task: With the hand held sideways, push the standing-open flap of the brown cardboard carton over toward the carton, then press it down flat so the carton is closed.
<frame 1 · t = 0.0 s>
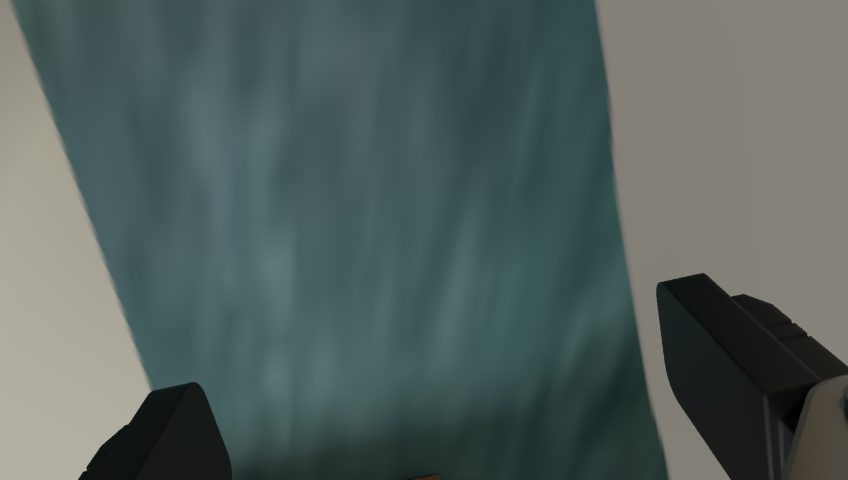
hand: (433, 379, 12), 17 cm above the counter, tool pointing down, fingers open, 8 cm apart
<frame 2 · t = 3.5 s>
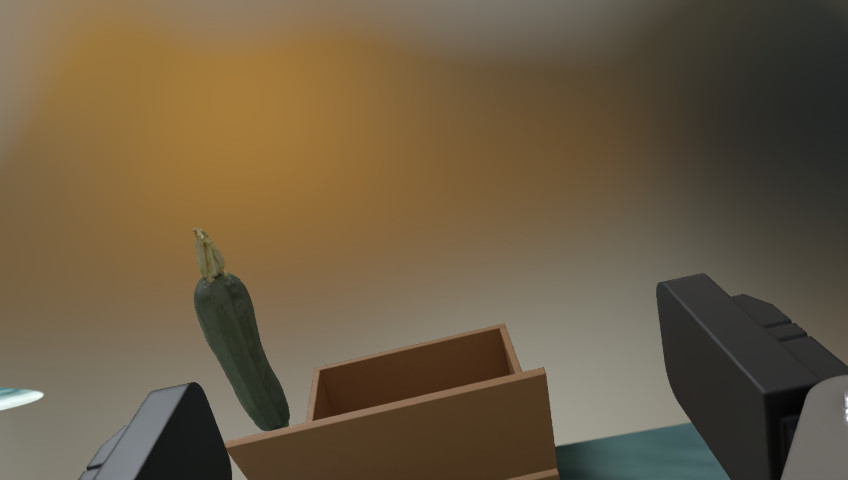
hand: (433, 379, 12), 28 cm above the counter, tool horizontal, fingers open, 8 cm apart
vegetable: (274, 440, 60), on the counter
flap: (403, 455, 34), point 13 cm above the counter, hinge at 110.0°
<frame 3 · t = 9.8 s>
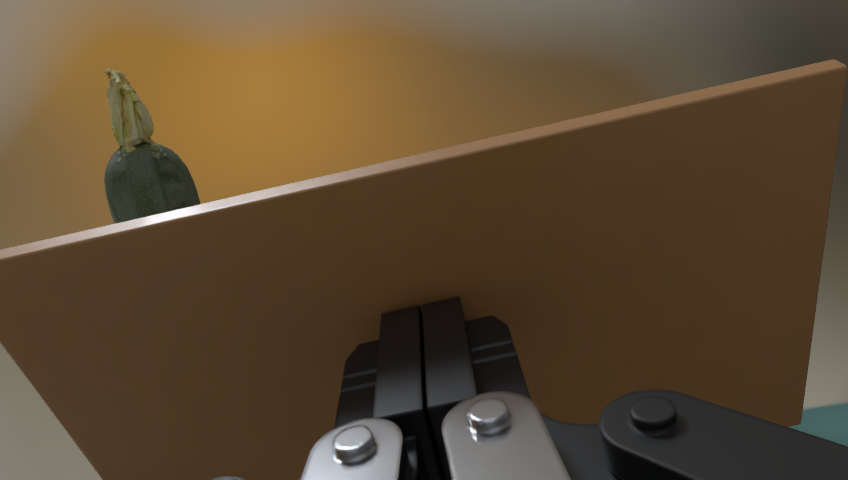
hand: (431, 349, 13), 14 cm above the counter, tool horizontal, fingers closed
vegetable: (234, 417, 40), on the counter
flap: (433, 352, 13), point 13 cm above the counter, hinge at 104.3°, touching gripper
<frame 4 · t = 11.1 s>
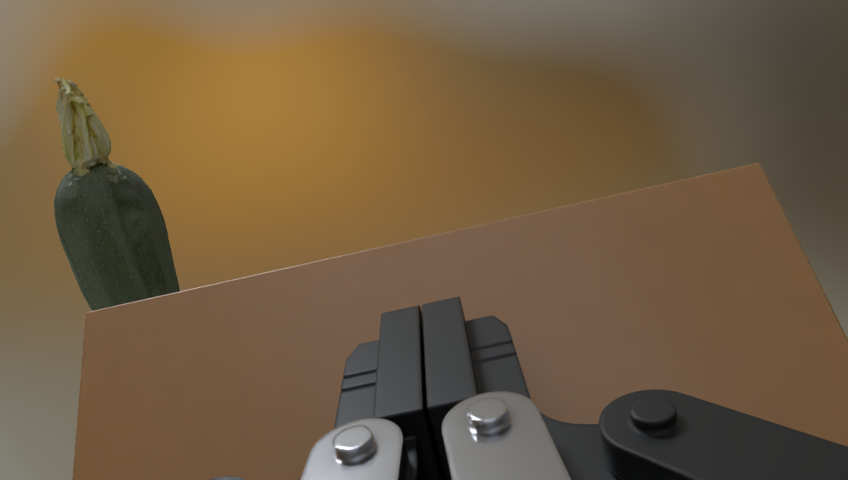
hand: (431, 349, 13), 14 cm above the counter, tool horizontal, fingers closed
vegetable: (210, 474, 35), on the counter
flap: (450, 433, 13), point 12 cm above the counter, hinge at 42.0°
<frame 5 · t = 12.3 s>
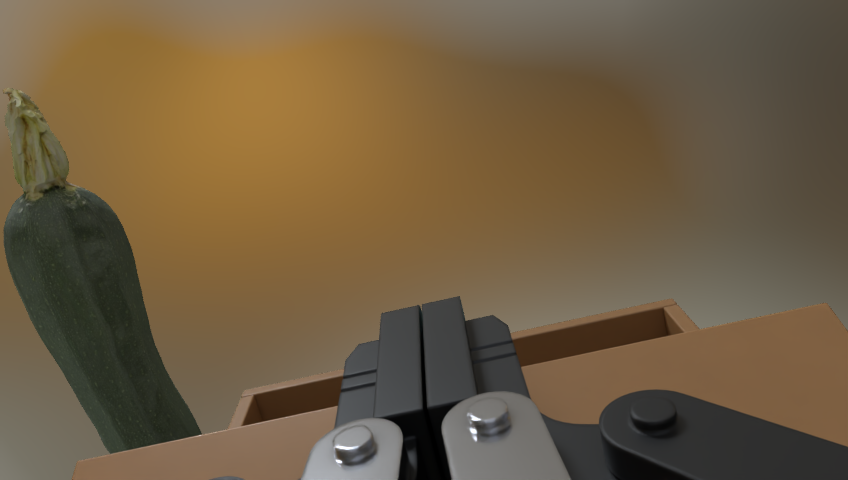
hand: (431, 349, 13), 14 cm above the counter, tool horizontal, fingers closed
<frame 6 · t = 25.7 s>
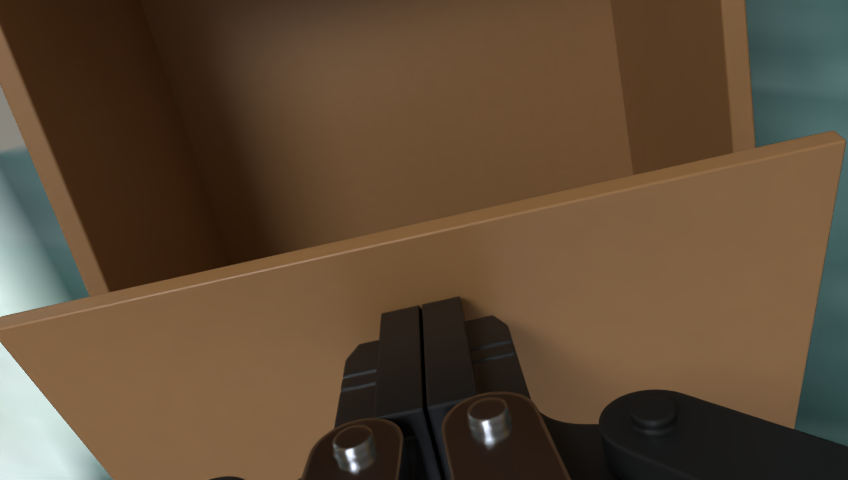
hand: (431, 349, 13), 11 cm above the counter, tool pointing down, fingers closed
flap: (448, 390, 14), point 10 cm above the counter, hinge at 17.5°, touching gripper
carton: (403, 108, 23), on the counter
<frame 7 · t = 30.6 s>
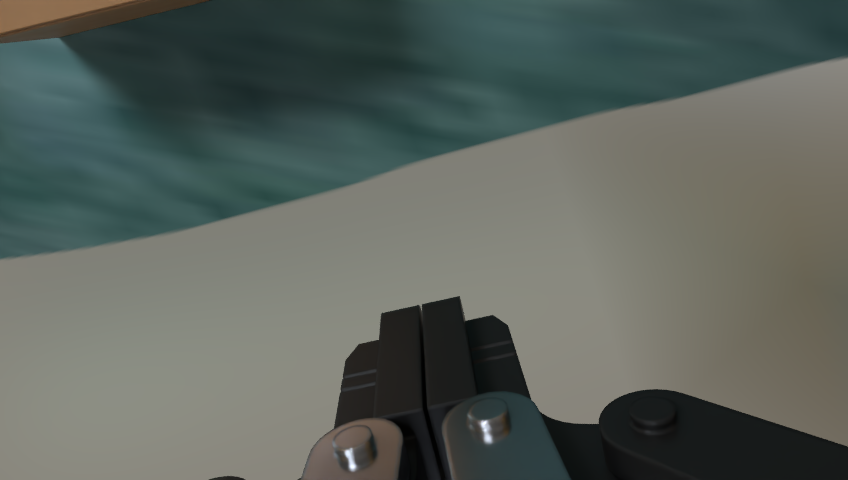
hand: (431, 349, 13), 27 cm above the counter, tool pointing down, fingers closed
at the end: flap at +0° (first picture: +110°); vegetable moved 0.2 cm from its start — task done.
